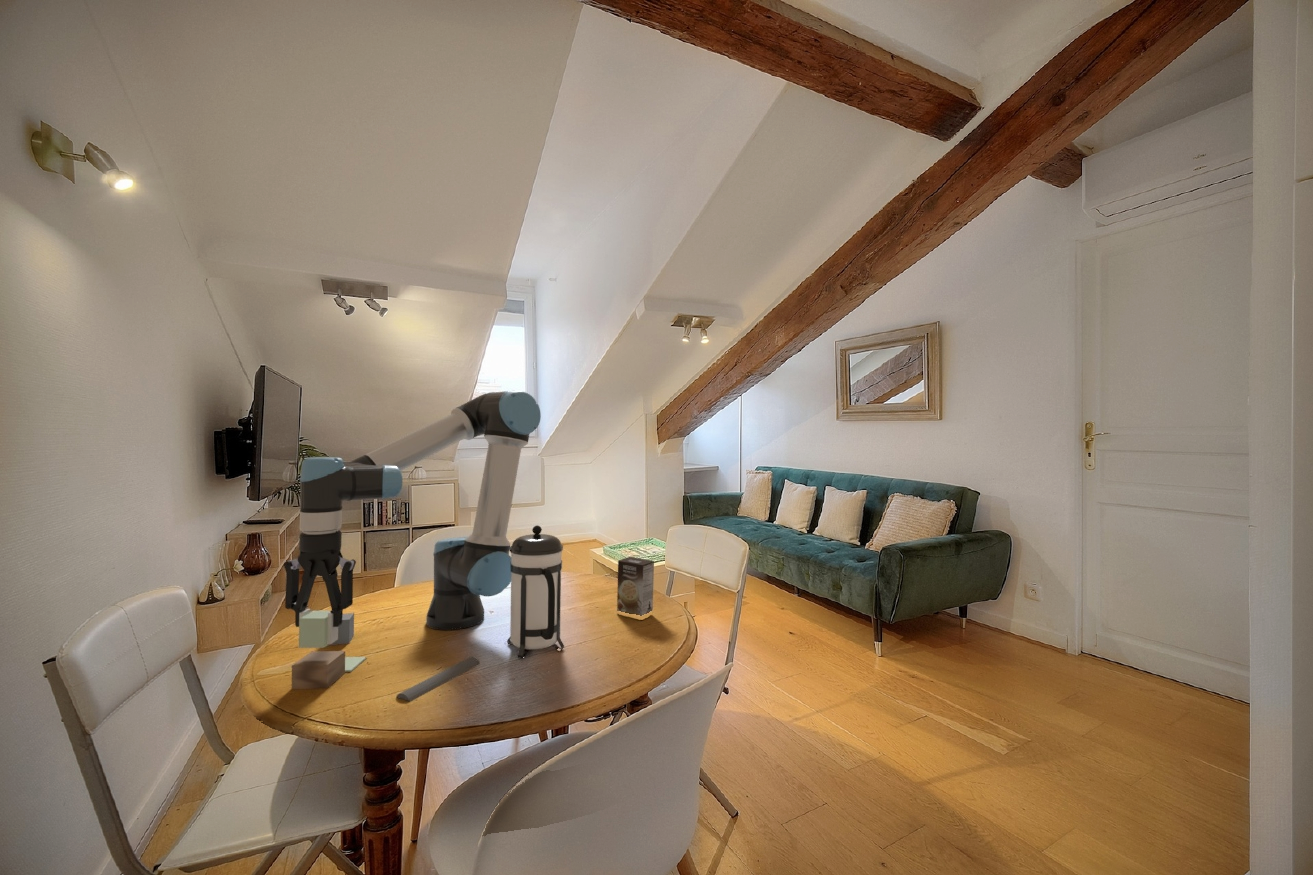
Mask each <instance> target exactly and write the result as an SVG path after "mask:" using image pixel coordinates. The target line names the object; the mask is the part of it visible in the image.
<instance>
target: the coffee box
mask: <svg viewBox="0 0 1313 875" xmlns="http://www.w3.org/2000/svg"><path fill="white" fill-rule="evenodd" d="M654 569H655V561H654V560H650V559H644V558H640V557H633V556H628V557H625V558H622V559H619V560H618V562H617V596H616V597H617V600H616V601H617V602H616V612H617V611H621V612H625V613H629V614H636V615H640V616H642V615H644V614H647V613H649V612H650V611H652V610H653V608H654V577H655V576H654V575H655V574H654V571H655V570H654ZM653 611H654V610H653Z"/></svg>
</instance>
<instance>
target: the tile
mask: <svg viewBox="0 0 1313 875" xmlns="http://www.w3.org/2000/svg"><path fill="white" fill-rule="evenodd" d="M365 660H367V656H345V673H352V672H353V671H354V670H355V669H356V668H357V667H359V666H360V665H361V664H362V663H363V662H364V661H365Z"/></svg>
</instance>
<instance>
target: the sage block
mask: <svg viewBox="0 0 1313 875" xmlns="http://www.w3.org/2000/svg"><path fill="white" fill-rule="evenodd" d="M330 611H331V610H311V612H310V613H308V614H307V615H305V616H303V617H301V618H300V621H299V627H298V648H300V649H302V648H305V649H310V648H311V649H314V648H315V649H321V648H322V649H324V648H326V647H327V645H328V646H330V645H329V644H327V638H328V613H329V612H330Z"/></svg>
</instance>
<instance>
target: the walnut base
mask: <svg viewBox="0 0 1313 875" xmlns="http://www.w3.org/2000/svg"><path fill="white" fill-rule="evenodd" d="M345 657H346V650H344V651H343V650H331V651H330V650H328V651H325V650H324V651H323V650H321V651H318V650H317V651H316V650H314V651H313V650H312V651H310V652H309V653H308V654H306V655H305V656H303V657H301V658H300V659H299V660H297V661H296V662H295V663H293V664H291V690H310V689H311V690H312V689H313V690H316V689H317V690H319V689H322V690H323V689H324V690H325V689H329V688H330V687H331V686H332V685H333V684H334V683H335V682H337V681H338V680H339V679H340V678H341V677H343V675H346V672H345Z"/></svg>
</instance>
